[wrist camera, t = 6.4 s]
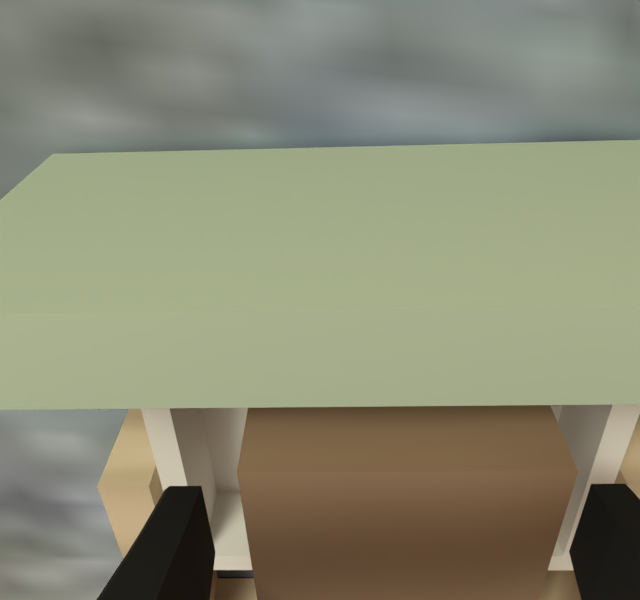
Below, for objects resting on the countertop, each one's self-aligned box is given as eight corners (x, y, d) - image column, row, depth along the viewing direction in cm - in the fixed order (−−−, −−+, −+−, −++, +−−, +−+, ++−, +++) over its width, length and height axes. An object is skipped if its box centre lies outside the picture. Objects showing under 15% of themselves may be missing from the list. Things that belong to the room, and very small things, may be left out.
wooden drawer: (607, 481, 17) (714, 702, 12) (148, 483, 18) (78, 697, 13) (730, 137, 12) (1009, 299, 7) (53, 154, 12) (-133, 316, 7)
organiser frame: (557, 596, 21) (599, 726, 18) (189, 595, 21) (162, 722, 18) (627, 392, 16) (705, 523, 12) (133, 396, 16) (81, 524, 13)
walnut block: (472, 448, 16) (524, 646, 11) (283, 449, 16) (264, 644, 12) (499, 287, 13) (579, 471, 9) (268, 290, 13) (237, 472, 9)
